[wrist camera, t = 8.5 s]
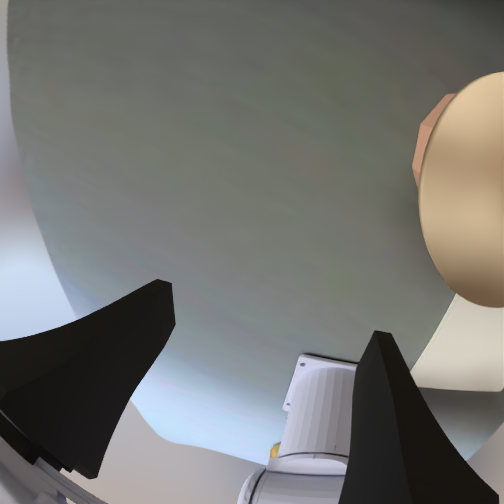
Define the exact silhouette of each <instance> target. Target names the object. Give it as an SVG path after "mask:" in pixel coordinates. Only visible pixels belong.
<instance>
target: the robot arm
mask: <svg viewBox="0 0 504 504" xmlns="http://www.w3.org/2000/svg"><path fill="white" fill-rule="evenodd" d="M175 325H176V323H175V313H174V304H173V293H172V283H170V282H166V281H163V280H159V279H156V280H154V281H152V282H150V283H148V284H146V285H144V286H143V287H141V288H139V289H137V290H135V291H133V292H132V293H130V294H128V295H126V296H124V297H122V298H121V299H119V300H117V301H115V302H113V303H111V304H109V305H108V306H105V307H103V308H101V309H99V310H97V311H95V312H93V313H91V314H89V315H87V316H85V317H83V318H81V319H78V320H76V321H74V322H71V323H68V324H66V325H64V326H61V327H58V328H55V329H52V330H49V331H45V332H42V333H39V334H35V335H31V336H27V337H23V338H18V339H13V340H7V341H0V504H68V503H67V502H66V497H67V498H69V499H70V500H71V501H73V502H75V503H76V504H107V503H105V502H103V501H102V500H100V499H99V498H97V497H95V496H94V495H92V494H91V493H89V492H87V491H86V490H84V489H83V488H81V487H80V486H78V485H77V484H75V483H74V482H72V481H71V480H69V479H68V478H67V477H65V476H64V475H62V474H61V473H60V470H61V469H62V468H64V469H65V470H66V471H68V472H69V473H71V472H72V470H73V469H74V470H75V471H77V472H78V473H80V474H81V475H83V476H84V477H86V478H88V479H94V478H97V476H98V473H99V470H100V467H101V463H102V461H103V458H104V455H105V452H106V449H107V447H108V444H109V442H110V439H111V437H112V435H113V432H114V430H115V428H116V426H117V424H118V421H119V419H120V417H121V415H122V413H123V411H124V409H125V407H126V405H127V403H128V401H129V399H130V397H131V396H132V394H133V392H134V391H135V389H136V388H137V386H138V385H139V383H140V382H141V380H142V379H143V377H144V376H145V374H146V373H147V372H148V370H149V369H150V367H151V366H152V364H153V363H154V361H155V360H156V358H157V357H158V355H159V354H160V352H161V351H162V349H163V348H164V346H165V345H166V343H167V341H168V339H169V337H170V335H171V333H172V331H173V329H174V327H175ZM283 409H284V410H285V411H289V413H288V417H287V421H286V425H285V429H284V433H283V437H282V440H281V444H280V448H279V451H278V455H277V458H272V457H270V458H269V461H268V464H267V468H266V467H260V468H258V469H257V470H255V472H253V473H252V474H251V475H250V476H249V477H248V478H247V480H246V481H245V483H244V485H243V487H242V489H241V492H240V495H239V498H238V502H237V504H499V495H498V494H497V493H496V492H495V491H494V490H493V489H492V488H491V487H490V486H488V484H486V483H485V482H484V481H483V480H482V479H481V478H480V477H479V476H478V475H477V474H476V472H475V471H474V470H473V469H472V468H471V467H470V466H469V465H468V464H467V462H466V461H465V460H464V459H463V457H462V456H461V455H460V454H459V452H458V451H457V450H456V448H455V447H454V446H453V444H452V443H451V442H450V440H449V439H448V437H447V436H446V435H445V433H444V432H443V430H442V428H441V427H440V425H439V424H438V422H437V421H436V419H435V418H434V416H433V414H432V413H431V411H430V409H429V407H428V406H427V404H426V402H425V400H424V398H423V397H422V395H421V393H420V391H419V389H418V387H417V385H416V383H415V381H414V379H413V377H412V375H411V373H410V371H409V369H408V367H407V365H406V363H405V361H404V359H403V356H402V354H401V352H400V350H399V348H398V346H397V344H396V342H395V340H394V338H393V336H392V334H391V333H387V332H381V331H376V330H375V331H374V333H373V335H372V337H371V339H370V342H369V344H368V346H367V348H366V350H365V352H364V354H363V356H362V358H361V360H360V362H359V363H358V365H357V364H351V363H346V362H340V361H335V360H330V359H325V358H320V357H315V356H310V355H305V354H303V355H301V356H300V357H299V359H298V362H297V366H296V369H295V372H294V375H293V378H292V381H291V384H290V387H289V390H288V393H287V396H286V399H285V402H284V405H283Z"/></svg>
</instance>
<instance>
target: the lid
mask: <svg viewBox="0 0 504 504" xmlns="http://www.w3.org/2000/svg"><path fill="white" fill-rule="evenodd" d="M418 205H419V218H420V223H421V228H422V234H423V237H424V240H425V243H426V246H427V249H428V251H429V253H430V255H431V258H432V260H433V262H434V264H435V266H436V268H437V270H438V272H439V273H440V275H441V276H442V278H443V280H444V281H445V282H446V283H447V284H448V285H449V287H450V288H451V289H452V290H453V291H455V292H456V293H457V294H458V295H459V296H461V297H462V298H464V299H466V300H467V301H469V302H471V303H474V304H476V305H479V306H484V307H489V308H504V72H499V73H491V74H488V75H485V76H482V77H479V78H477V79H475V80H474V81H472V82H470V83H469V84H467V85H466V86H464V87H463V88H462V89H461V90H460V91H459V92H457V93H456V94H455V95H454V97H453V98H452V99H451V100H450V101H449V102H448V104H447V105H446V106H445V108H444V109H443V111H442V113H441V114H440V116H439V117H438V119H437V121H436V123H435V125H434V127H433V129H432V131H431V134H430V136H429V139H428V142H427V145H426V148H425V151H424V156H423V160H422V164H421V170H420V178H419V191H418Z"/></svg>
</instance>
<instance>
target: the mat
mask: <svg viewBox="0 0 504 504" xmlns="http://www.w3.org/2000/svg"><path fill="white" fill-rule="evenodd" d="M410 373H411V375H412V377H413V379H414V381H415V383H416V385H417V387H425V388H436V389H449V390H466V391H501V390H502V389H503V388H504V308H489V307H484V306H479V305H476V304H474V303H471V302H469V301H467V300H466V299H464V298H462V297H461V296H459V295H458V294H457V293H456V295H455V297H454V299H453V301H452V302H451V304H450V306H449V308H448V310H447V312H446V314H445V316H444V317H443V319H442V321H441V323H440V325H439V326H438V328H437V330H436V332H435V333H434V335H433V337H432V338H431V340H430V342H429V343H428V345H427V347H426V348H425V350H424V351H423V353H422V355H421V356H420V358H419V359H418V361H417V362H416V364H415V365H414V367H413V368H412V370H411V371H410Z"/></svg>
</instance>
